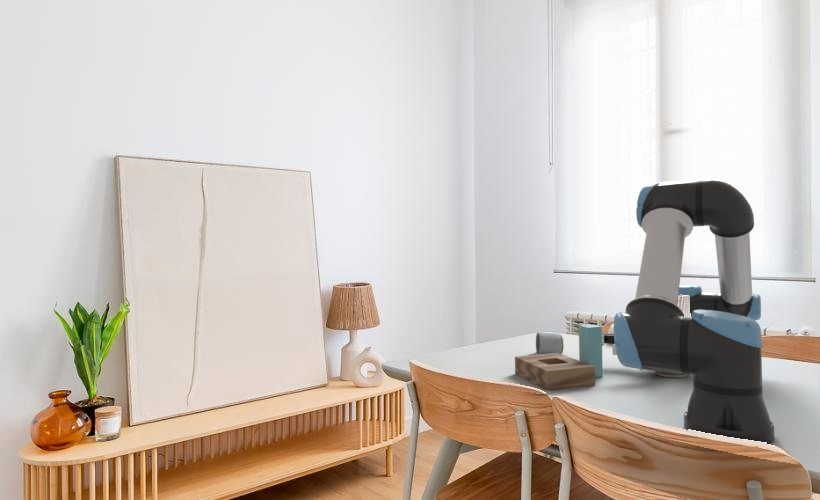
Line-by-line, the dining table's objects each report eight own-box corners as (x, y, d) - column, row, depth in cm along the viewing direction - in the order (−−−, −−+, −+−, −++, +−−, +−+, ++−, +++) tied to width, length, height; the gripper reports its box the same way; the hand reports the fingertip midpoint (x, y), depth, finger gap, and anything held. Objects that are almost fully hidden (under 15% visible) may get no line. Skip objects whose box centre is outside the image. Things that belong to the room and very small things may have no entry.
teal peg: (602, 376, 145) (601, 326, 145) (588, 378, 144) (587, 327, 144) (593, 373, 149) (592, 324, 149) (579, 374, 148) (578, 325, 148)
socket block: (595, 385, 137) (594, 366, 137) (547, 390, 133) (547, 371, 133) (558, 369, 154) (557, 352, 154) (515, 373, 150) (514, 356, 150)
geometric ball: (613, 350, 192) (600, 331, 195) (630, 341, 194) (616, 323, 197) (622, 343, 185) (608, 324, 188) (639, 334, 187) (625, 315, 191)
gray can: (564, 357, 170) (564, 333, 171) (539, 357, 171) (539, 334, 171) (557, 351, 181) (556, 329, 181) (533, 351, 181) (532, 329, 181)
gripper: (694, 361, 141) (627, 368, 136) (632, 345, 165) (573, 350, 160) (693, 334, 141) (627, 339, 136) (632, 321, 165) (573, 325, 160)
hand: (598, 345), depth 148 cm, fingers open, 13 cm apart
